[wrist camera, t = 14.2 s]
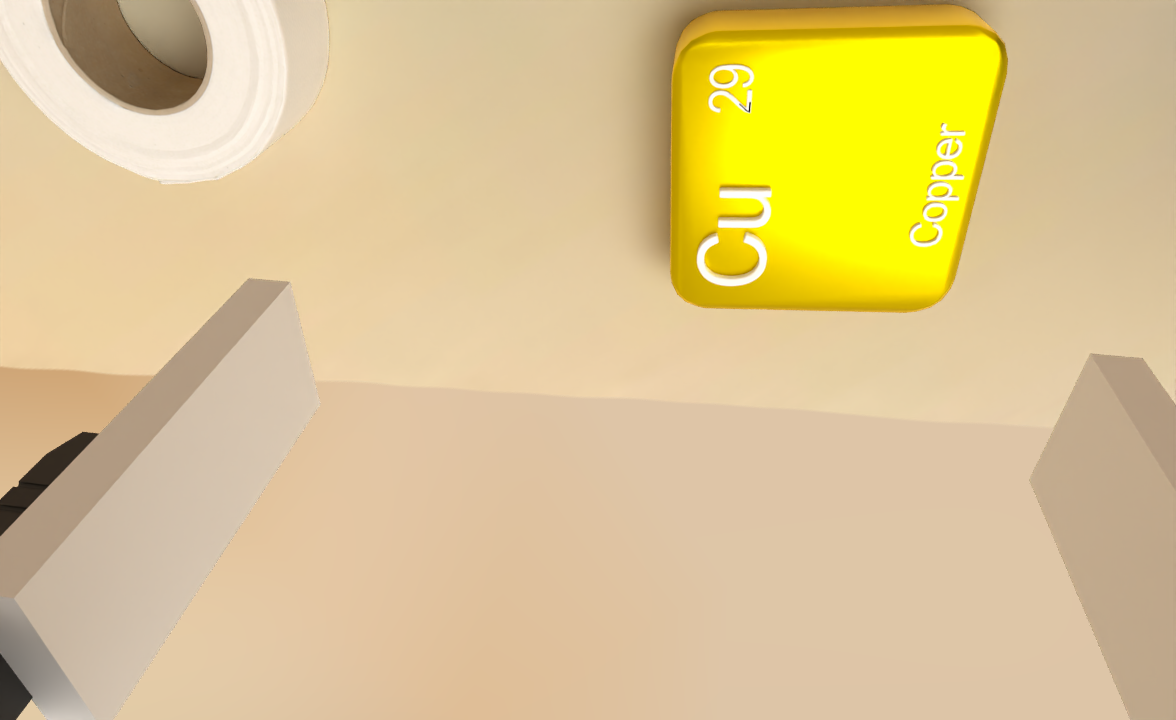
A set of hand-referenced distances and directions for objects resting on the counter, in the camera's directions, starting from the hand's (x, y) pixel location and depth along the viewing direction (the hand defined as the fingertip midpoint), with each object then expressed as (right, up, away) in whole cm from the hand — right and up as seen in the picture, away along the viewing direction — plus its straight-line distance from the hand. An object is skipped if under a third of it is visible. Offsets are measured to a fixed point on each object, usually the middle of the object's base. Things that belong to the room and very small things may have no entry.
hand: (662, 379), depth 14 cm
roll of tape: (-23, +19, +29) cm, 41 cm away
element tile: (+11, +12, +29) cm, 33 cm away
